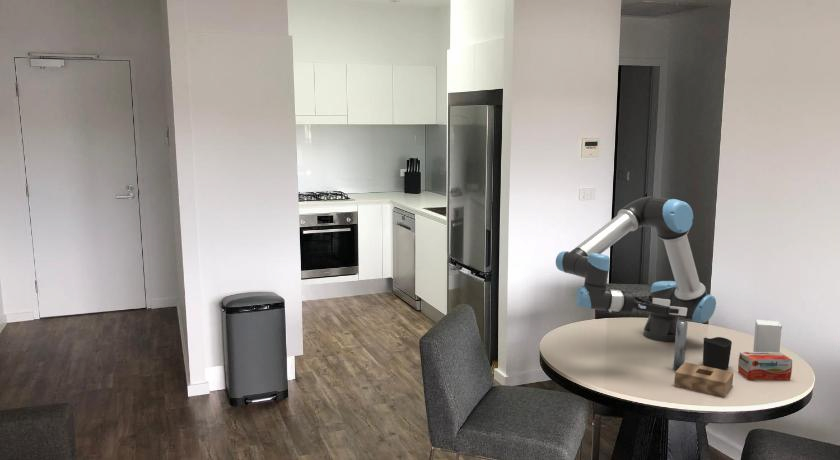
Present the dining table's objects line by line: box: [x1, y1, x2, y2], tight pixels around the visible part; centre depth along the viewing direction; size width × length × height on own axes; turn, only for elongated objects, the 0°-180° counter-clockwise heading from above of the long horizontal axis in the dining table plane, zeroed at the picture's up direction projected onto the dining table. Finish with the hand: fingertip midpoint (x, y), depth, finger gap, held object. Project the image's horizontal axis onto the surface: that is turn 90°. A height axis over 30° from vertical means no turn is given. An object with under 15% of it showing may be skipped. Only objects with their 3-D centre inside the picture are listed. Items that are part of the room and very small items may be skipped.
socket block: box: [673, 361, 734, 398], centre depth 232 cm, size 16×12×5 cm
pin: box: [672, 319, 689, 372], centre depth 246 cm, size 4×4×18 cm
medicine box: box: [737, 351, 793, 382], centre depth 241 cm, size 15×8×8 cm, turn 92°
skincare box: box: [752, 319, 783, 352], centre depth 255 cm, size 8×7×16 cm
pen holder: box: [702, 336, 733, 371], centre depth 250 cm, size 9×9×10 cm
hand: (677, 307), depth 243 cm, fingers open, 13 cm apart
